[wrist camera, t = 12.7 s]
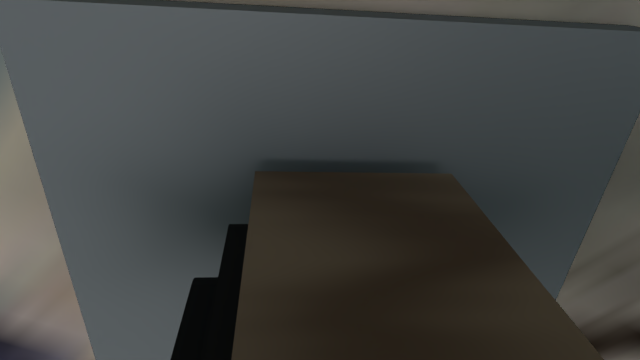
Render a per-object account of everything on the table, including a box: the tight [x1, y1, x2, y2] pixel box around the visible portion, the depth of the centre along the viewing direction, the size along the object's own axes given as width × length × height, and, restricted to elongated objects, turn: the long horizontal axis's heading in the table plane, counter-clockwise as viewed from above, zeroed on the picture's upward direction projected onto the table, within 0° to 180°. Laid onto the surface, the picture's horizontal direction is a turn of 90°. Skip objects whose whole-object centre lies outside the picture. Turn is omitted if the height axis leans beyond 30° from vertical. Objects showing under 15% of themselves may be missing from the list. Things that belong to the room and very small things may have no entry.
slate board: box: [0, 0, 640, 360], centre depth 13 cm, size 16×12×2 cm
